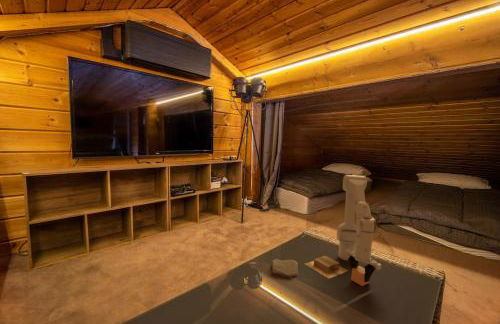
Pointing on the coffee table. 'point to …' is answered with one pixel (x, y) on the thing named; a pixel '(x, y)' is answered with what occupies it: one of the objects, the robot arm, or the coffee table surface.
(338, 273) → the plate
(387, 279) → the coffee table surface
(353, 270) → the terracotta cube
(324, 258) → the walnut slab
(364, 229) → the robot arm
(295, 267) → the stone block
